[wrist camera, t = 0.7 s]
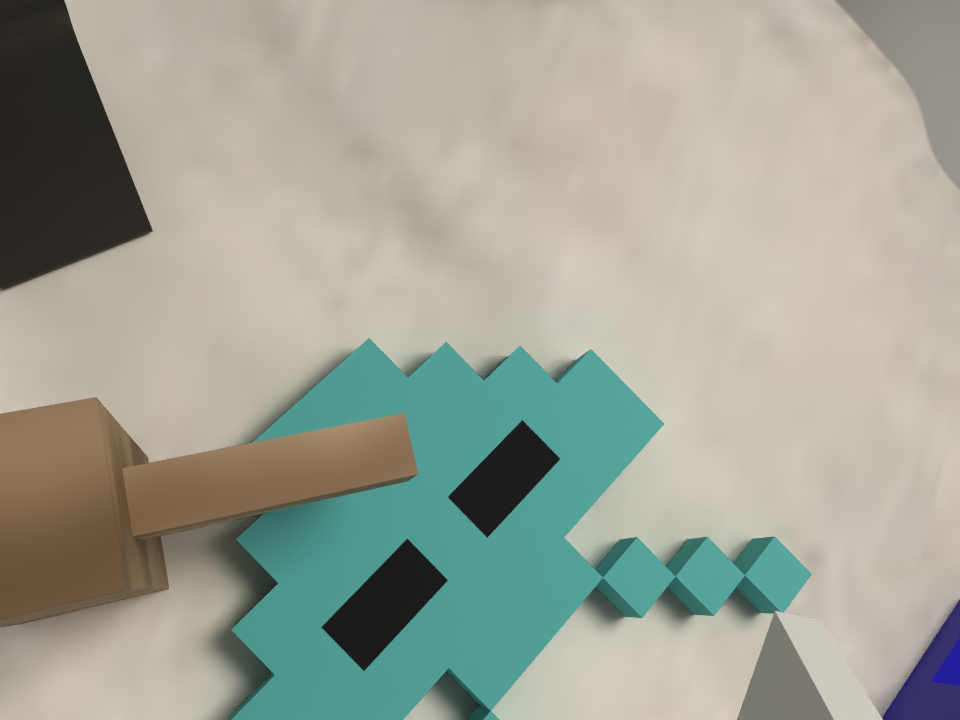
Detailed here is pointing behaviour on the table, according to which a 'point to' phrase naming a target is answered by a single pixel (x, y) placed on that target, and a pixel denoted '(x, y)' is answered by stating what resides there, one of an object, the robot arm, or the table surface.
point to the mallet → (152, 498)
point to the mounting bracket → (933, 679)
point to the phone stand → (55, 150)
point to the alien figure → (463, 539)
